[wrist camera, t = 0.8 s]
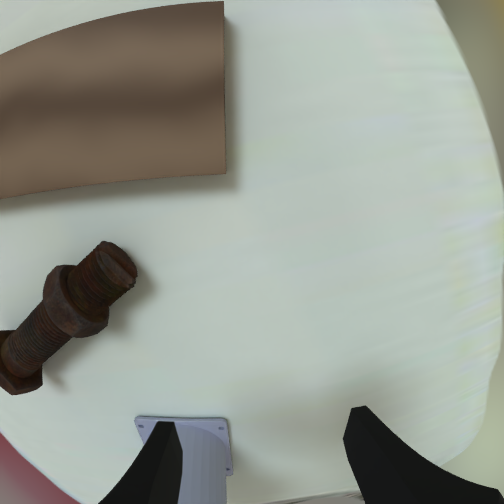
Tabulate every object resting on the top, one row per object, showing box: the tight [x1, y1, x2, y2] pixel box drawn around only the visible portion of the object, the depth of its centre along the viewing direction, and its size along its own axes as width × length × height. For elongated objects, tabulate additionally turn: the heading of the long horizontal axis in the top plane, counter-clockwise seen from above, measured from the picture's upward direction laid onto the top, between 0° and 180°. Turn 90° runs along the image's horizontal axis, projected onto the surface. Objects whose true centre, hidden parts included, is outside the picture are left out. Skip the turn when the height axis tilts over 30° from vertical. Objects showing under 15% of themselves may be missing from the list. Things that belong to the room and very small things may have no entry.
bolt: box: [0, 241, 137, 395], centre depth 17 cm, size 6×5×15 cm
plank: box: [0, 1, 226, 199], centre depth 14 cm, size 10×30×2 cm, turn 91°
